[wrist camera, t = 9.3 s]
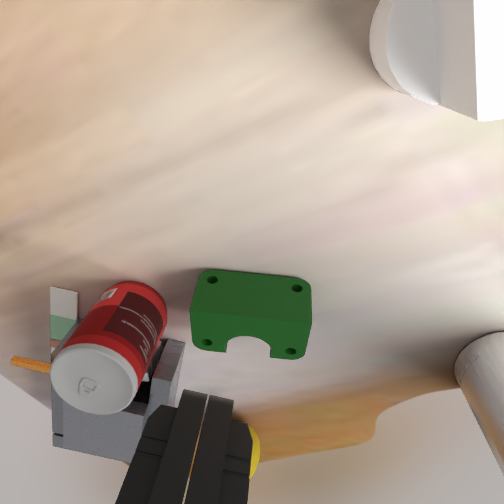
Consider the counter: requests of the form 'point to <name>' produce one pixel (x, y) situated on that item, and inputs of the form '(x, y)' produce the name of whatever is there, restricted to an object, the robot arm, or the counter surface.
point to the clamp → (251, 311)
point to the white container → (443, 52)
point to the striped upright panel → (62, 313)
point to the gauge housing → (120, 423)
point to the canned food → (110, 349)
